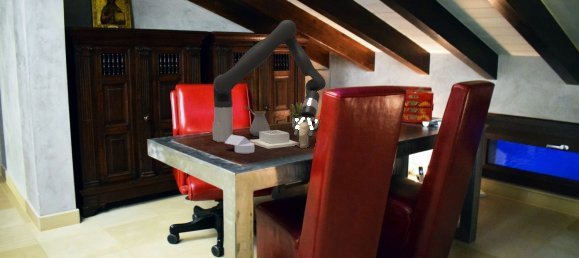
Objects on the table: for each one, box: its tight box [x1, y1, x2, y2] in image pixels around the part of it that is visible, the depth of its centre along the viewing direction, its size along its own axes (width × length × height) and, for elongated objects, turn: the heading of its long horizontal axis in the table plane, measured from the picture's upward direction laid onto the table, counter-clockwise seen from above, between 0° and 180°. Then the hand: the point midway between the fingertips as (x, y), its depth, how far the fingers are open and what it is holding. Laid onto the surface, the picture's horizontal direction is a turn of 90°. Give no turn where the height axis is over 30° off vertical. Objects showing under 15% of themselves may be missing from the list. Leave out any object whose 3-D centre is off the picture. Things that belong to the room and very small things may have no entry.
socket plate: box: [248, 129, 299, 150], centre depth 246 cm, size 18×18×6 cm
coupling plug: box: [297, 122, 310, 149], centre depth 238 cm, size 6×5×12 cm
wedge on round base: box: [224, 134, 255, 154], centre depth 228 cm, size 9×7×13 cm
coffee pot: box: [244, 105, 271, 137], centre depth 273 cm, size 21×12×15 cm, turn 37°
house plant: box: [287, 102, 303, 126], centre depth 290 cm, size 14×14×16 cm
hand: (302, 136), depth 237 cm, fingers open, 6 cm apart
